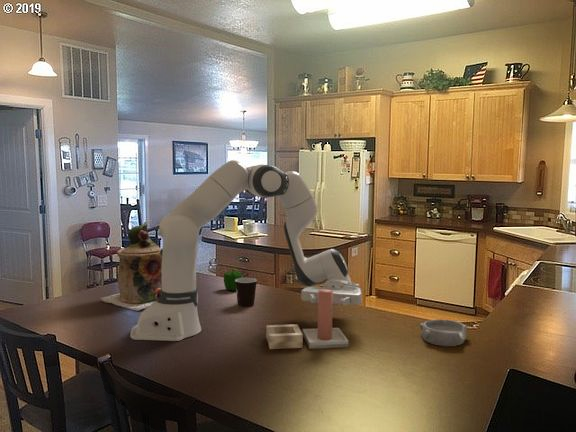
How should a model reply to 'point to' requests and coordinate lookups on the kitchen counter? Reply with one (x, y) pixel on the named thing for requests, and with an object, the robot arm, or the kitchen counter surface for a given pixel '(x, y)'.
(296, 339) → the socket block
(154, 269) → the cookie jar
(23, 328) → the kitchen counter surface
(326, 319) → the dowel
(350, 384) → the kitchen counter surface
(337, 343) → the tray
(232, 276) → the bell pepper
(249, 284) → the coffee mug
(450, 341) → the dish
